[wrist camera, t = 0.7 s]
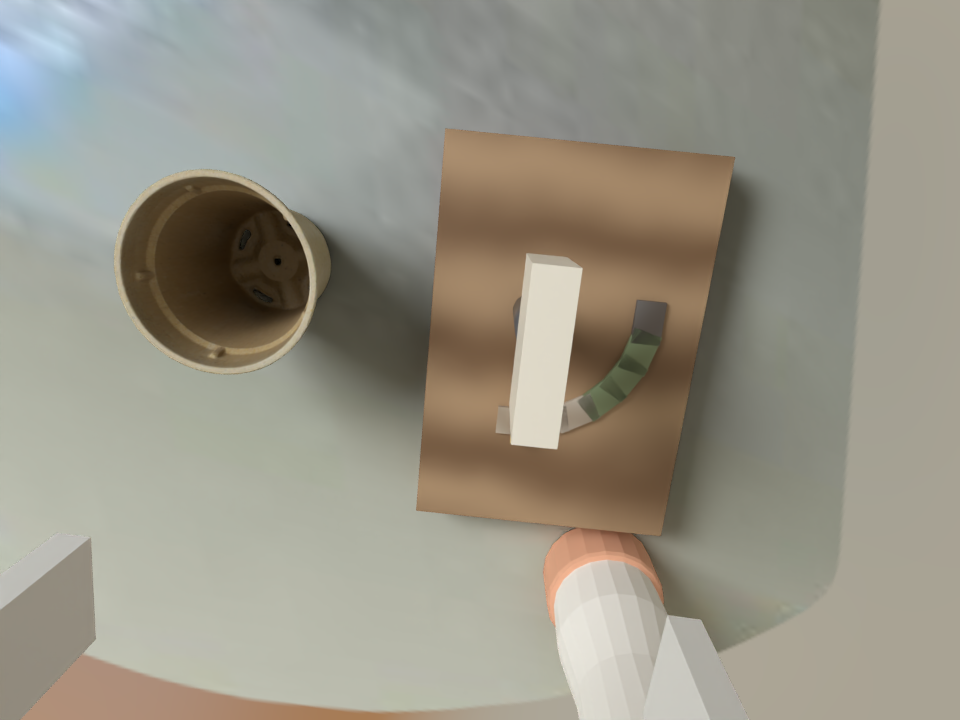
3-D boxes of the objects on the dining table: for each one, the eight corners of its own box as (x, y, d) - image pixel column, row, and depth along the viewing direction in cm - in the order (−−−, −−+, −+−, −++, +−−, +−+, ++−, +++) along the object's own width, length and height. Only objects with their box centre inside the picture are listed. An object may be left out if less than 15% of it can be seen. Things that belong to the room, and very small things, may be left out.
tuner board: (450, 135, 33) (444, 127, 30) (714, 161, 33) (737, 156, 30) (422, 487, 39) (415, 512, 35) (648, 511, 38) (662, 538, 35)
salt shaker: (663, 599, 40) (804, 935, 21) (562, 628, 41) (614, 975, 22) (632, 509, 38) (756, 788, 20) (528, 541, 39) (553, 837, 21)
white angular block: (520, 245, 31) (529, 262, 21) (557, 248, 31) (585, 268, 21) (498, 435, 34) (497, 535, 24) (532, 439, 34) (547, 541, 24)
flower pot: (366, 190, 34) (322, 184, 26) (354, 346, 36) (310, 387, 28) (206, 169, 34) (109, 155, 26) (204, 326, 36) (116, 361, 28)
